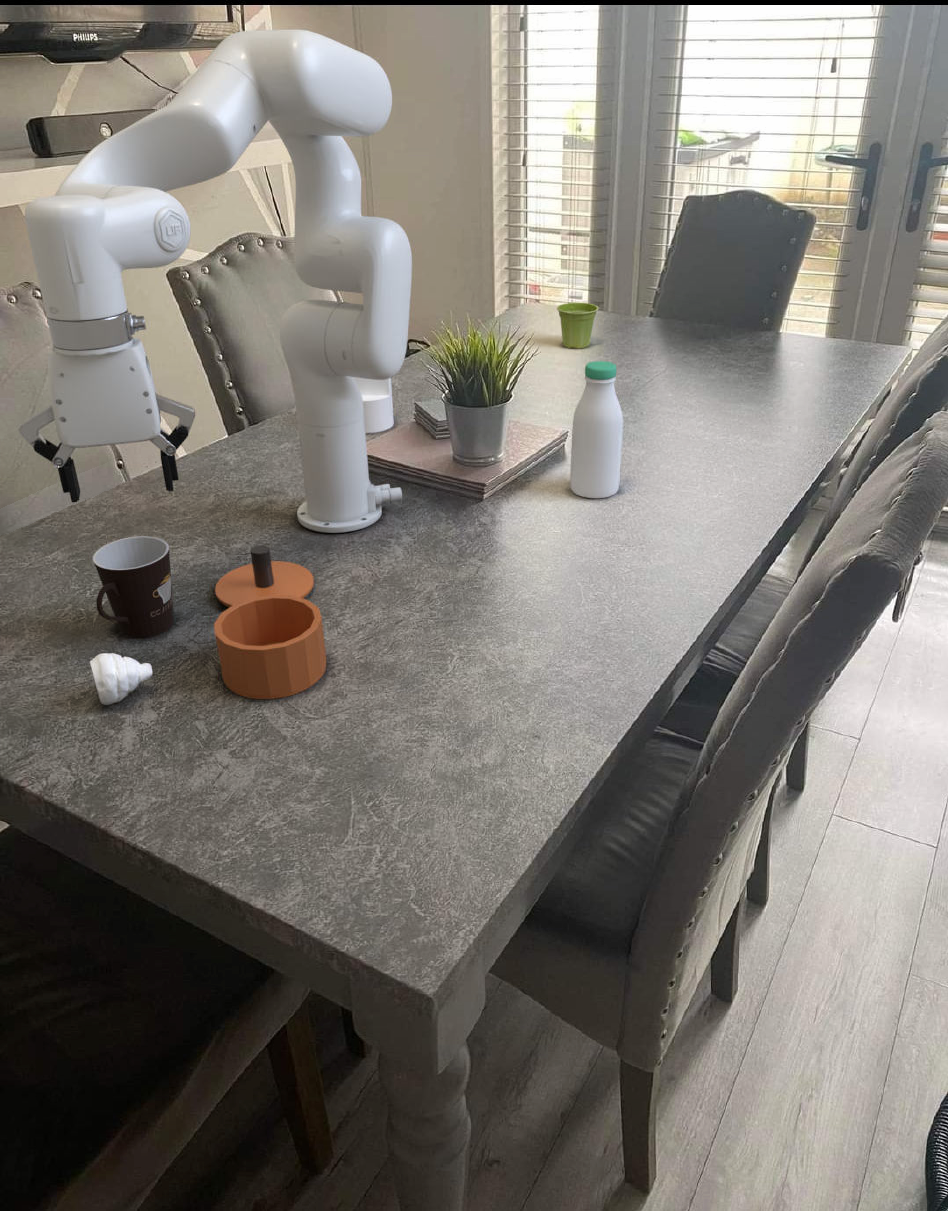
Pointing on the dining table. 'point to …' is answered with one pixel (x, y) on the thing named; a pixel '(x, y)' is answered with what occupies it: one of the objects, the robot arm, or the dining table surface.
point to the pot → (271, 646)
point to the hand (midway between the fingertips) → (123, 492)
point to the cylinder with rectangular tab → (376, 403)
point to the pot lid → (263, 579)
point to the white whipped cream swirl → (117, 676)
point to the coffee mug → (136, 585)
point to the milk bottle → (597, 435)
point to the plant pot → (577, 323)
